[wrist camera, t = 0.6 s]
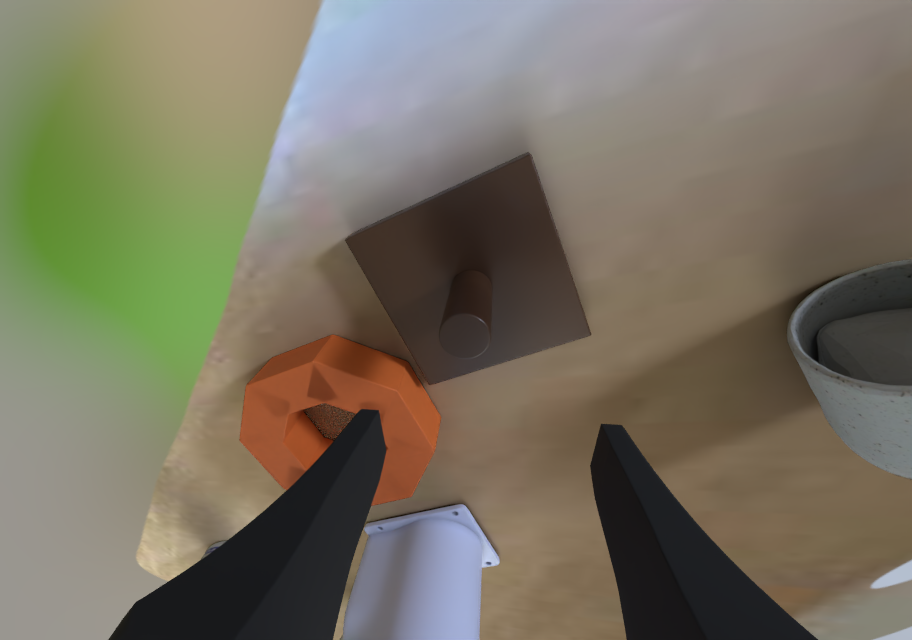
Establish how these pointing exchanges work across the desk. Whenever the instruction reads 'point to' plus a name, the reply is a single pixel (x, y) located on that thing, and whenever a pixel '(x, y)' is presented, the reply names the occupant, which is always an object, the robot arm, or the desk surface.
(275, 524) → the robot arm
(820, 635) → the desk surface
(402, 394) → the ring
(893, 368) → the ceramic mug
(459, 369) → the stand
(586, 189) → the desk surface
